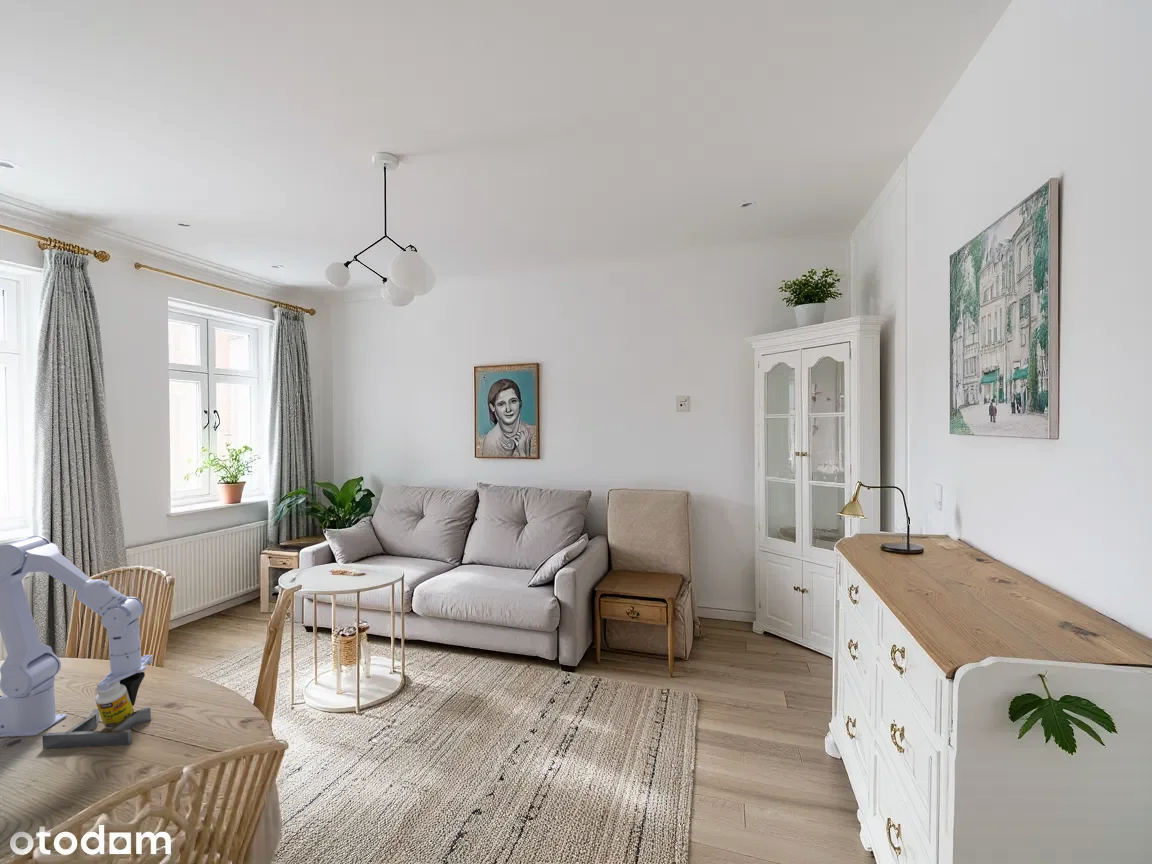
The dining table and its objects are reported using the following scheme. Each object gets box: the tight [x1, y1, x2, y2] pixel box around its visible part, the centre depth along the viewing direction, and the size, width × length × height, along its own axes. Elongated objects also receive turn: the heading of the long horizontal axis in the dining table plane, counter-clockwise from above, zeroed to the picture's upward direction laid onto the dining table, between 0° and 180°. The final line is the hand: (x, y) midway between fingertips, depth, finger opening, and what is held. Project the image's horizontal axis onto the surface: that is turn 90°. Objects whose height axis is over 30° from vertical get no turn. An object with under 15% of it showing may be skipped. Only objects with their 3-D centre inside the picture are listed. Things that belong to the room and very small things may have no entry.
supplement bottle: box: [94, 681, 135, 729], centre depth 125 cm, size 6×6×10 cm
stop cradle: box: [41, 705, 152, 750], centre depth 123 cm, size 18×10×3 cm, turn 93°
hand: (128, 706), depth 130 cm, fingers closed
